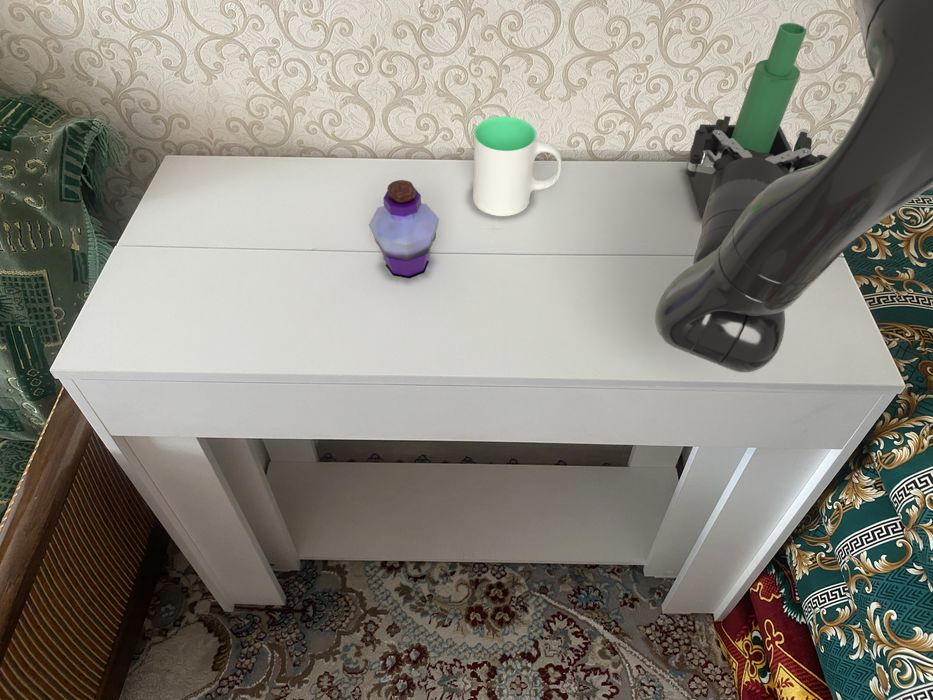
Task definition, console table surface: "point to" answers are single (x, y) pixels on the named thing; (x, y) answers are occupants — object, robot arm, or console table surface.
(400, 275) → the potion bottle
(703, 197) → the bin
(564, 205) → the console table surface
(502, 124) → the mug
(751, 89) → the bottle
